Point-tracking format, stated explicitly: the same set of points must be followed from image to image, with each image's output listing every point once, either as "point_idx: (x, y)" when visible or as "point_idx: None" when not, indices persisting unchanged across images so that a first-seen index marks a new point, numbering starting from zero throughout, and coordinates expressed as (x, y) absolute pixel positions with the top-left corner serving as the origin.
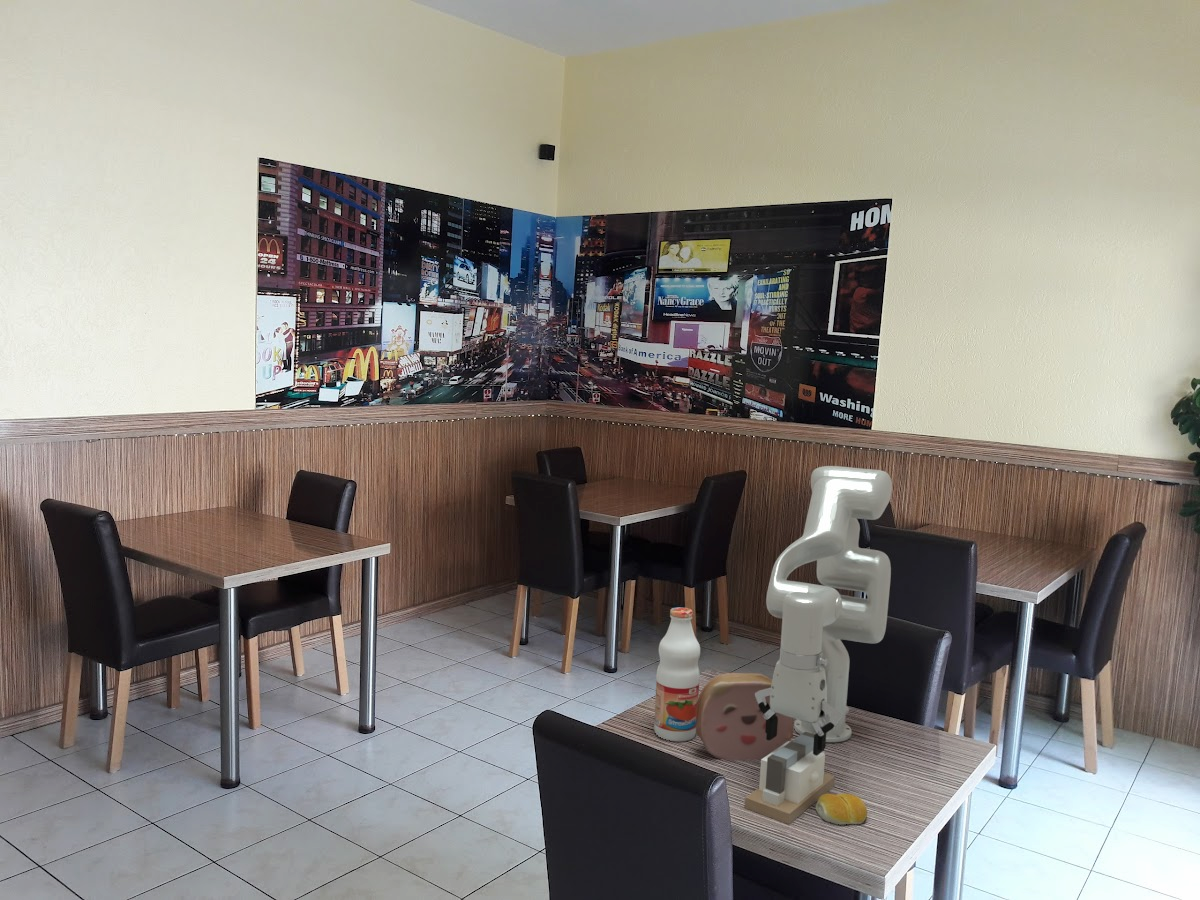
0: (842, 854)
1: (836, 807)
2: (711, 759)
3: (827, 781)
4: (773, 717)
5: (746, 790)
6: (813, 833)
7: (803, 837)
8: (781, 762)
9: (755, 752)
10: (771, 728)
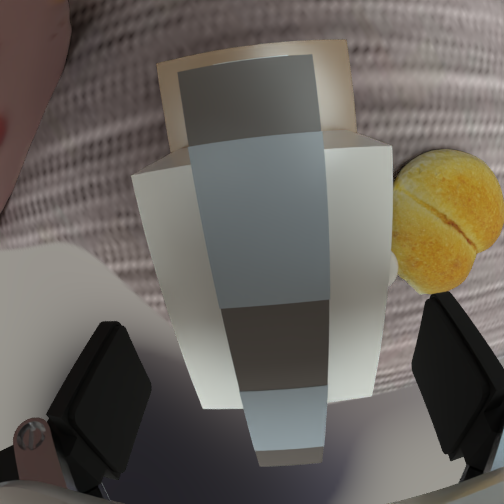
0: None
1: (454, 285)
2: (4, 215)
3: (350, 101)
4: (91, 463)
5: None
6: (406, 339)
7: (393, 364)
8: (318, 461)
9: (32, 108)
10: (130, 431)
